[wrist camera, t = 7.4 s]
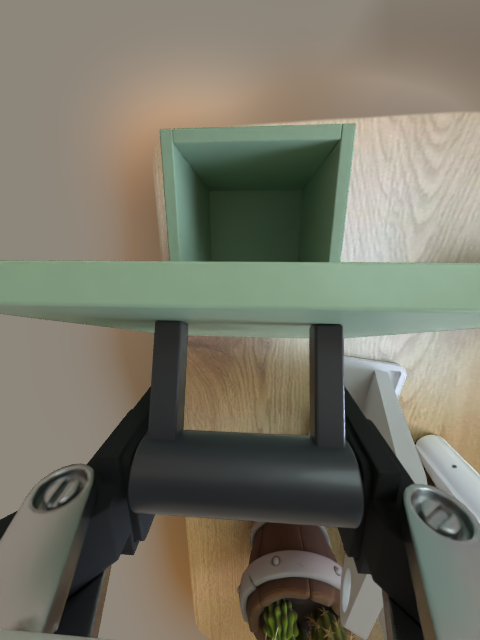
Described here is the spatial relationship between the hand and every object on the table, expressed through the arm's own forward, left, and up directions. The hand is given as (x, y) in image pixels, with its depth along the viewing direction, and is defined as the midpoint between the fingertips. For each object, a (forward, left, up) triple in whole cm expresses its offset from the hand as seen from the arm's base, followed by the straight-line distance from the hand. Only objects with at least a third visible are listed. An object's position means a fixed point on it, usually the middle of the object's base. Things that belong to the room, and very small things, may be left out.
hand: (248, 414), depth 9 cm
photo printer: (+30, +17, -22) cm, 41 cm away
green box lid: (-3, +1, -2) cm, 4 cm away
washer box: (-7, +2, -21) cm, 23 cm away
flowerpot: (+36, -7, -22) cm, 43 cm away
